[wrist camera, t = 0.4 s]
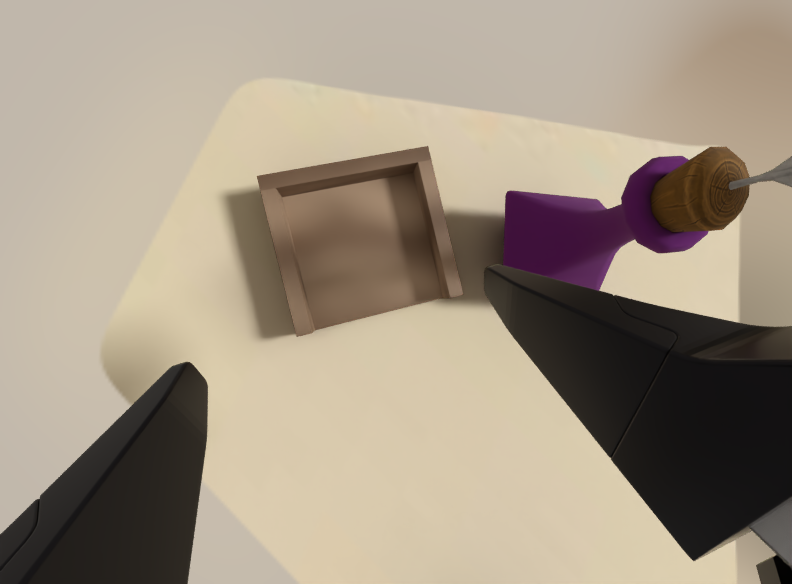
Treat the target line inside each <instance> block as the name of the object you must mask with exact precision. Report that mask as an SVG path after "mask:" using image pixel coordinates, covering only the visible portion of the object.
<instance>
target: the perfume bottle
mask: <svg viewBox="0 0 792 584" xmlns="http://www.w3.org/2000/svg"><path fill="white" fill-rule="evenodd" d="M763 181H776V182H778V183H782V184H785V185H787V186H790V187H792V156H791V157H790V158H789V159H787V160H786V161H784V162H783V163H781V164H780V165H779V166H777V167H776V168H774V169H773V170H771V171H769V172H766V173H764V174H761V175H759V176H754V177H749V174H748V171H747V168H746V166H745V163H744V162H743V161H742V160H741V159H740V158H739V157H737V156H736V155H735V154H734V153H733V152H732V151H731V150H729V149H728V148H727V147H709V148H708V149H706V150H705V151H703V152H702V153H700V154H698V155H697V156H695V157H694V158H692V159H690V160H688V159H686V158H685V157H683V156H669V157H657V158H652V159H651V160H650V161H648V162H647V163H646V164H645V165H643V166H642V167H641V168H639V169H638V170H637V171H636V172H634V173H633V174H632V175H630V178H629V180H628V182H627V185H626V187H625V190H624V192H623V195H622V197H621V200H622V204H621V205H618V206H616V207H613V208H610V209H606V208H605V207H604V206H603V205H602V204H601V202H600V201H599V200H597V199H588V198H578V197H569V196H559V195H549V194H539V193H529V192H520V191H508V192H507V193H506V200H505V227H504V254H503V265H504V266H508V267H511V268H515V269H519V270H523V271H526V272H530V273H534V274H538V275H542V276H545V277H549V278H553V279H557V280H560V281H564V282H568V283H572V284H576V285H579V286H583V287H587V288H591V289H594V290H598V291H599V289H600V287H601V285H602V283H603V280H604V278H605V276H606V273H607V271H608V269H609V267H610V264H611V262H612V260H613V258H614V255H615V253H616V252H617V251H618V250H619V249H620V248H621V247H622V246H623V245H625V244H627V243H628V242H630V241H632V240H634V239H635V240H636V241H637V243H639V244H641V245H643V246H645V247H647V248H648V249H650V250H652V251H654V252H656V253H670V252H680V251H685V250H687V249H690V248H691V247H693V246H694V245H695V244H696V243H697V242H698V241H700V240H701V239H702V238H703V237H704V236H706V235H707V234H708V231H712V230H723V229H724V228H725V227H726V226H727V225H728V224H729V223H730V222H732V221H733V220H734V219H735V218H736V217H737V216H738V215H739V213H740V212H741V211H742V209H743V207H744V204H745V203H746V200H747V198H748V196H749V185H750V184H753V183H757V182H763Z"/></svg>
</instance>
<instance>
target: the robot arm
mask: <svg viewBox="0 0 792 584" xmlns="http://www.w3.org/2000/svg"><path fill="white" fill-rule="evenodd" d="M484 291H485V294H486V296H487V298H488V299H489V301H490V302H491V304H492V306H493V307H494V309H495V310H496V312H497V314H498V315H499V317H500V318H501V320H502V322H503V323H504V325H505V326H506V328H507V329H508V331H509V332H510V333H511V335H512V336H513V337H514V339H515V340H516V341H517V342H518V344H519V345H520V346H521V347H522V349H523V350H524V351H525V352H526V354H527V355H528V356H529V357H530V359H531V360H532V361H533V362H534V364H535V365H536V366H537V367H538V369H539V370H540V371H541V372H542V374H543V375H544V376H545V377H546V379H547V380H548V381H549V382H550V384H551V385H552V386H553V387H554V389H555V390H556V391H557V392H558V394H559V395H560V396H561V397H562V399H563V400H564V401H565V402H566V404H567V405H568V406H569V407H570V409H571V410H572V411H573V412H574V414H575V415H576V416H577V417H578V419H579V420H580V421H581V422H582V424H583V425H584V426H585V427H586V429H587V430H588V431H589V432H590V434H591V435H592V436H593V437H594V439H595V440H596V441H597V442H598V444H599V445H600V446H601V447H602V449H603V450H604V451H605V452H606V454H607V455H608V456H609V457H610V458H611V460H612V461H613V463H614V464H615V465H616V466H617V468H618V469H619V470H620V471H621V473H622V474H623V475H624V476H625V478H626V479H627V480H628V481H629V483H630V484H631V485H632V486H633V488H634V489H635V490H636V491H637V493H638V494H639V495H640V496H641V498H642V499H643V500H644V501H645V503H646V504H647V505H648V506H649V508H650V509H651V510H652V511H653V513H654V514H655V515H656V516H657V518H658V519H659V520H660V521H661V523H662V524H663V525H664V526H665V528H666V529H667V530H668V531H669V533H670V534H671V535H672V536H673V538H674V539H675V540H676V541H677V543H678V544H679V545H680V546H681V548H682V549H683V550H684V551H685V552H686V554H687V555H688V556H689V557H690V558H691V559H692V560H693V561H696V560H698V559H699V558H701V557H703V556H705V555H707V554H709V553H711V552H713V551H715V550H717V549H718V548H720V547H722V546H724V545H726V544H728V543H730V542H732V541H734V540H736V539H737V538H739V537H741V536H743V535H745V534H747V533H749V532H751V531H753V532H754V533H755V534H756V535H757V536H758V537H759V538H760V539H761V540H762V541H763V542H764V543H765V544H766V545H767V546H768V547H769V548H771V549H772V550H773V551H774V552H775V553H776V555H774V556H772V557H770V558H769V559H766V560H765V561H763V562H761V563H759V564H758V565H756V567H757V570H758V574H759V578H760V581H761V584H792V326H787V327H767V326H755V325H747V324H742V323H737V322H732V321H727V320H723V319H718V318H713V317H708V316H703V315H699V314H694V313H689V312H684V311H680V310H675V309H670V308H666V307H661V306H657V305H652V304H648V303H644V302H640V301H636V300H632V299H628V298H625V297H621V296H617V295H614V296H613V295H612V294H609V293H606V292H602V291H598V290H594V289H591V288H587V287H583V286H579V285H576V284H572V283H568V282H564V281H560V280H557V279H553V278H549V277H545V276H542V275H538V274H534V273H530V272H526V271H523V270H519V269H515V268H511V267H508V266H504V265H500V264H495V265H492V266H489V267H486V268H485V271H484ZM207 416H208V385H207V382H206V380H205V378H204V377H203V376H202V375H201V374H200V372H199V371H198V370H197V369H196V368H195V367H194V365H193V364H192V363H190V362H184V363H181V364H178V365H174V366H172V367H171V368H170V369H168V370H167V371H166V372H165V373H164V374H163V375H162V376H161V377H160V378H159V379H158V380H157V381H156V382H155V383H154V384H153V385H152V386H151V387H150V388H149V389H148V390H147V391H146V392H145V393H144V394H143V395H142V396H141V397H140V398H139V399H138V400H137V401H136V402H135V403H134V404H133V405H132V406H131V407H130V408H129V409H128V410H127V411H126V412H125V413H124V414H123V415H122V416H121V417H120V418H119V419H118V420H117V421H116V422H115V423H114V424H113V425H112V426H111V427H110V428H109V429H108V430H107V431H105V433H104V434H102V435H101V436H100V437H99V438H98V440H97V441H95V442H94V443H93V444H92V445H91V446H90V447H89V448H88V449H87V450H86V451H85V452H84V453H83V454H82V455H81V456H80V457H79V458H78V459H77V460H76V461H75V462H74V463H73V464H72V465H71V466H70V467H69V468H68V469H67V470H66V471H65V472H64V473H63V474H62V475H61V476H60V477H59V478H58V479H57V480H56V481H55V482H54V483H53V484H52V485H51V486H50V487H49V488H48V489H47V490H46V491H45V492H44V493H43V494H41V496H40V499H37V500H35V501H34V502H33V503H32V504H31V505H30V506H29V507H28V508H27V509H26V510H25V511H24V512H23V513H22V514H21V515H20V516H19V517H18V518H17V519H16V520H15V521H14V522H13V523H12V524H11V525H10V526H9V527H8V528H7V529H6V530H5V531H4V532H3V533H1V534H0V584H188V576H189V568H190V561H191V553H192V545H193V539H194V531H195V524H196V517H197V509H198V502H199V494H200V486H201V480H202V472H203V465H204V457H205V450H206V441H207Z"/></svg>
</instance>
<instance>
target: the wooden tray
mask: <svg viewBox="0 0 792 584" xmlns="http://www.w3.org/2000/svg"><path fill="white" fill-rule="evenodd" d="M257 179H258V183H259V187H260V191H261V195H262V199H263V203H264V207H265V211H266V215H267V219H268V223H269V227H270V231H271V235H272V239H273V243H274V247H275V252H276V256H277V260H278V264H279V268H280V272H281V276H282V280H283V284H284V288H285V292H286V296H287V300H288V304H289V308H290V312H291V316H292V320H293V324H294V328H295V332H296V336H297V337H298V336H302V335H306V334H310V333H312V332H313V331H315V330H318V329H322V328H325V327H329V326H333V325H337V324H341V323H345V322H349V321H353V320H357V319H361V318H365V317H369V316H373V315H377V314H381V313H385V312H389V311H393V310H397V309H401V308H404V307H408V306H412V305H416V304H420V303H424V302H428V301H432V300H436V299H440V298H452V297H456V296H460V295H463V291H462V287H461V283H460V278H459V274H458V270H457V266H456V262H455V257H454V253H453V249H452V245H451V241H450V236H449V232H448V228H447V224H446V220H445V215H444V211H443V207H442V203H441V199H440V194H439V190H438V186H437V182H436V178H435V173H434V169H433V165H432V161H431V157H430V152H429V148H428V146H426V147H420V148H415V149H409V150H403V151H397V152H392V153H386V154H380V155H375V156H369V157H363V158H357V159H352V160H346V161H340V162H334V163H329V164H323V165H317V166H312V167H306V168H300V169H294V170H289V171H283V172H277V173H272V174H266V175H260V176H257Z"/></svg>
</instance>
